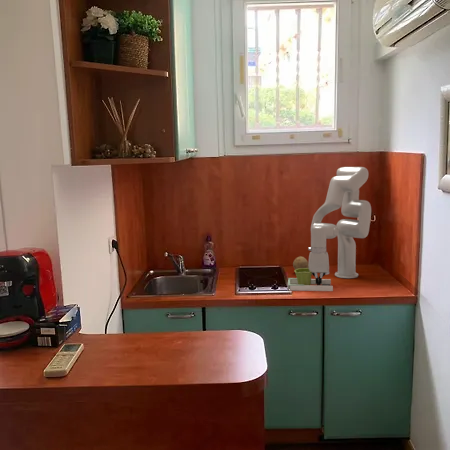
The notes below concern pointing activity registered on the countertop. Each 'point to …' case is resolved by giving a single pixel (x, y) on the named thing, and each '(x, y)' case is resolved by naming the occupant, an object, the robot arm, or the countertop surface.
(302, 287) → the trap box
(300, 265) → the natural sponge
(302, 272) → the plant pot
